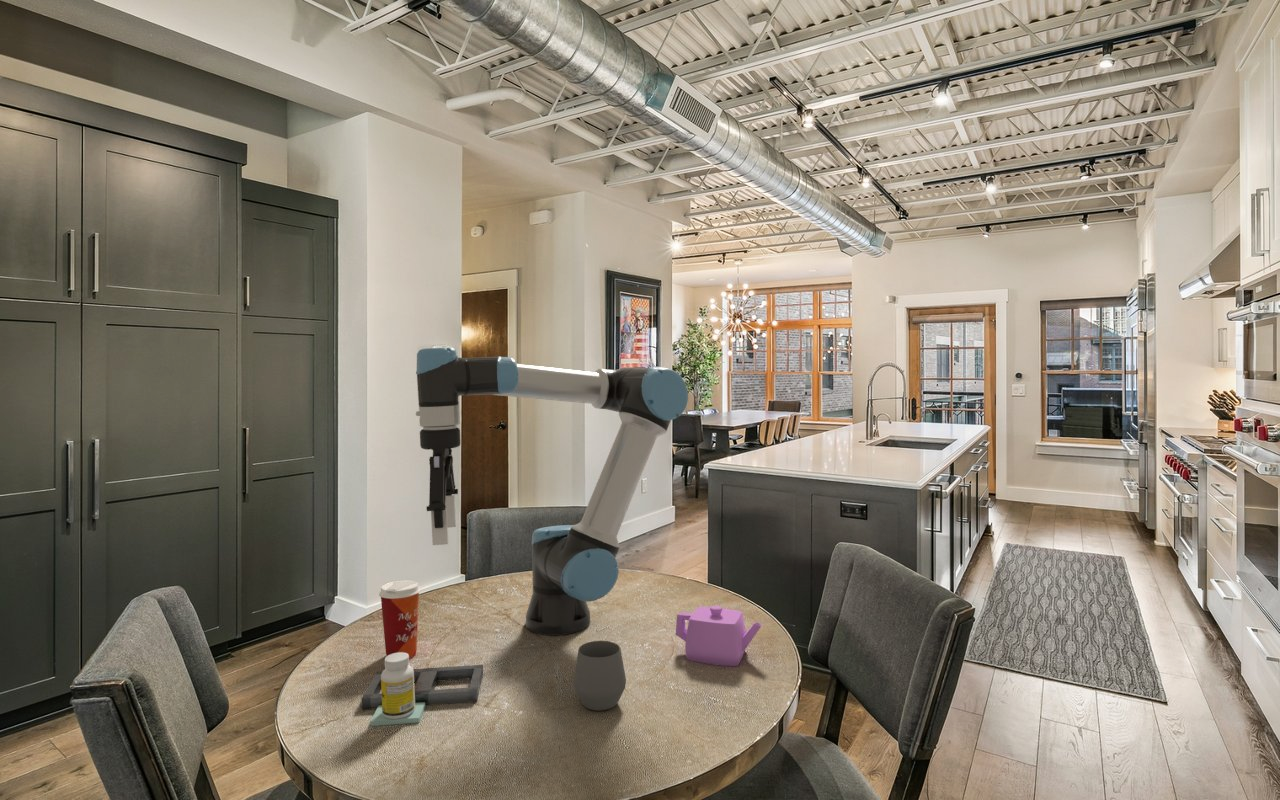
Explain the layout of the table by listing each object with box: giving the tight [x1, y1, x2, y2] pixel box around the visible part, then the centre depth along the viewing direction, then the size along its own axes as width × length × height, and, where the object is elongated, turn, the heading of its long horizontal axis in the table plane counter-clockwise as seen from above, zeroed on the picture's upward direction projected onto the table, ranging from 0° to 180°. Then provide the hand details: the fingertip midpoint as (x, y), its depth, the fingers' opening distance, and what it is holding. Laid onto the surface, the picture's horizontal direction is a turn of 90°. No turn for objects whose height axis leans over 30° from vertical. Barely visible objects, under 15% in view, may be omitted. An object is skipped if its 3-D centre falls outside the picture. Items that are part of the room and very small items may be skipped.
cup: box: [572, 640, 627, 712], centre depth 121 cm, size 10×9×10 cm
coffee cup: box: [378, 579, 421, 660], centre depth 143 cm, size 8×8×15 cm
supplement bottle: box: [380, 652, 415, 719], centre depth 117 cm, size 5×5×10 cm
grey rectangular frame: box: [361, 664, 484, 711], centre depth 127 cm, size 20×11×2 cm, turn 98°
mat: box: [369, 702, 426, 727], centre depth 118 cm, size 8×6×1 cm
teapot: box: [675, 605, 762, 667], centre depth 142 cm, size 18×10×10 cm, turn 71°
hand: (444, 535), depth 133 cm, fingers open, 13 cm apart
